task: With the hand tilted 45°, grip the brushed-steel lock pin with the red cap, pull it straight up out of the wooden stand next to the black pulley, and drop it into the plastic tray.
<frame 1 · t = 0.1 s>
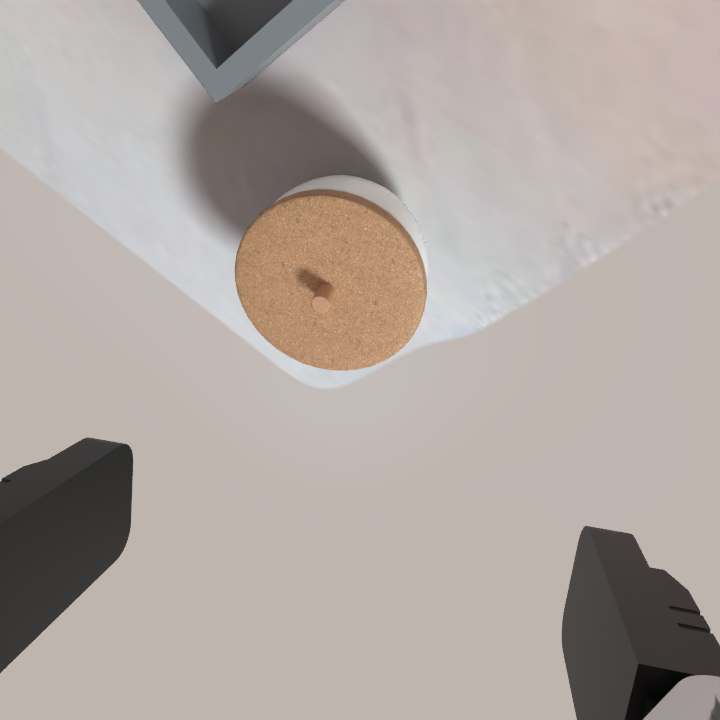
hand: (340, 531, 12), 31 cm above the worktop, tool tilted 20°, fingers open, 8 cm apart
lidded jar: (356, 234, 43), on the worktop
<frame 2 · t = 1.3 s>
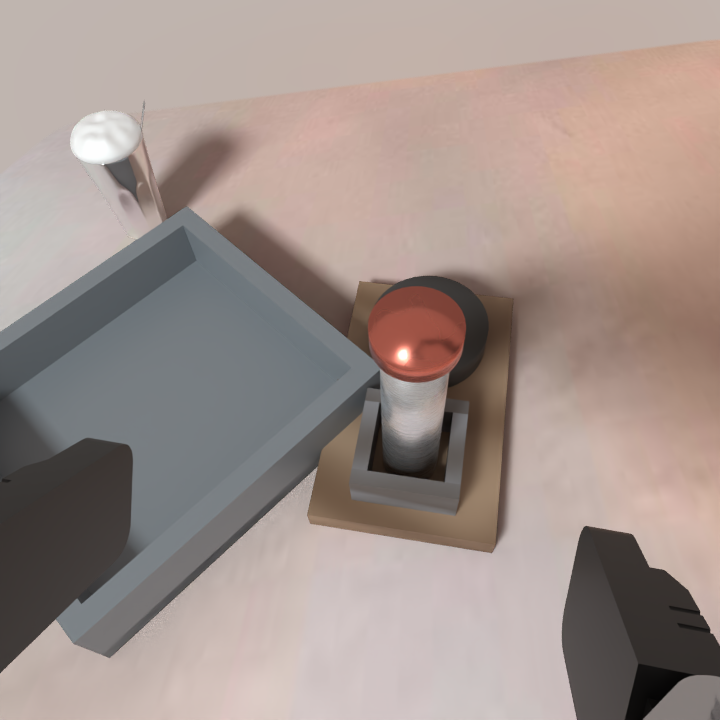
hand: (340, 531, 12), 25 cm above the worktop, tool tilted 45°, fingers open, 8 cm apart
milkshake: (152, 225, 50), on the worktop
lock pin: (410, 459, 37), point 1 cm above the worktop, touching wooden stand
wooden stand: (409, 470, 38), on the worktop
tray: (164, 419, 41), on the worktop
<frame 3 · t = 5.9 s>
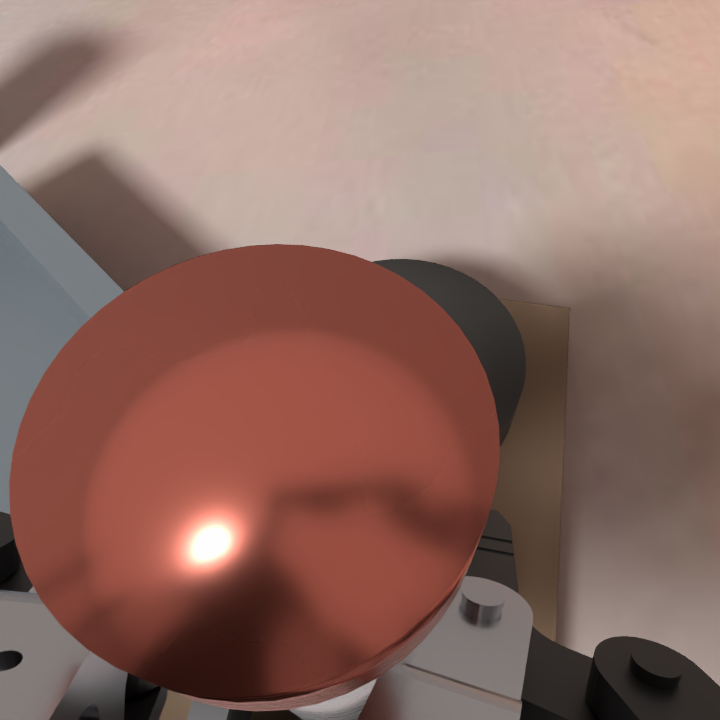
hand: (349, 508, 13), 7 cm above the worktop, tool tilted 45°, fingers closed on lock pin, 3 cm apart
lock pin: (345, 667, 16), point 2 cm above the worktop, touching gripper, wooden stand
wooden stand: (348, 675, 18), on the worktop
when the fingers open (9 cm above the worktop, at t = 11.7 s): lock pin drops 2 cm, resting on tray.
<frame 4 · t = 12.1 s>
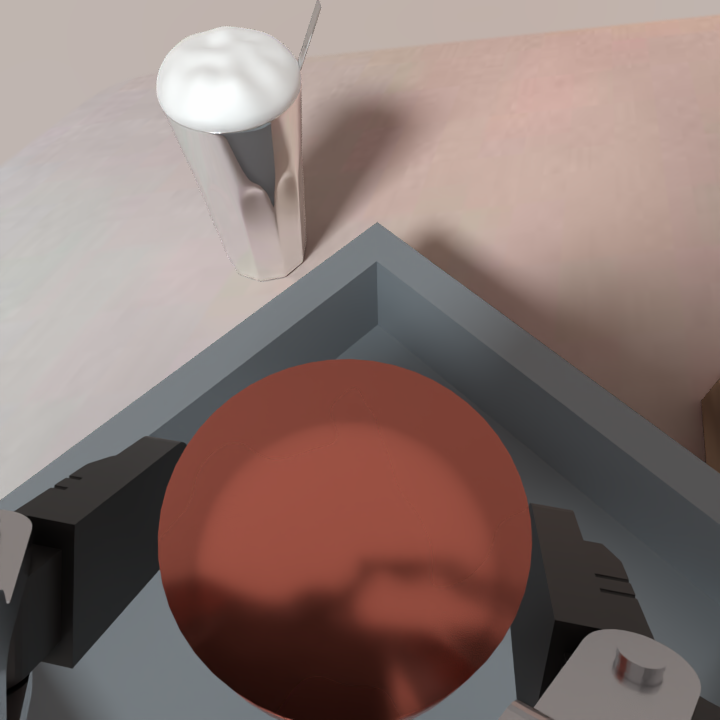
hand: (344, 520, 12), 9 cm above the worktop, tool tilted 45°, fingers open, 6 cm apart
milkshake: (278, 253, 28), on the worktop
lock pin: (348, 681, 18), point 1 cm above the worktop, touching tray
tray: (350, 682, 19), on the worktop
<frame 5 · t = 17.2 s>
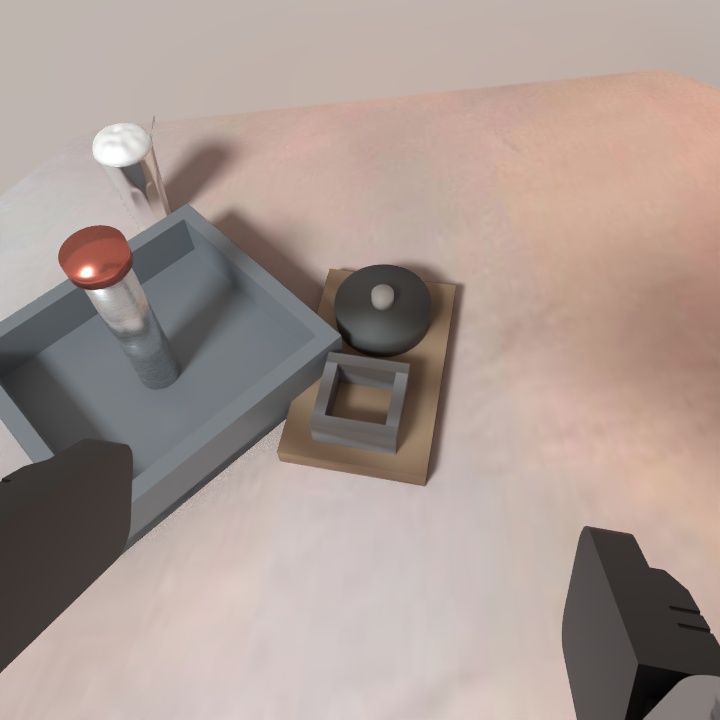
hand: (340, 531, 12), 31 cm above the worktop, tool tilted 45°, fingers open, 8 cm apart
milkshake: (158, 219, 59), on the worktop
lock pin: (160, 371, 49), point 1 cm above the worktop, touching tray
wooden stand: (362, 421, 47), on the worktop
tray: (164, 377, 50), on the worktop
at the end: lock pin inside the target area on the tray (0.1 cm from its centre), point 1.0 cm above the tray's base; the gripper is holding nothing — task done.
